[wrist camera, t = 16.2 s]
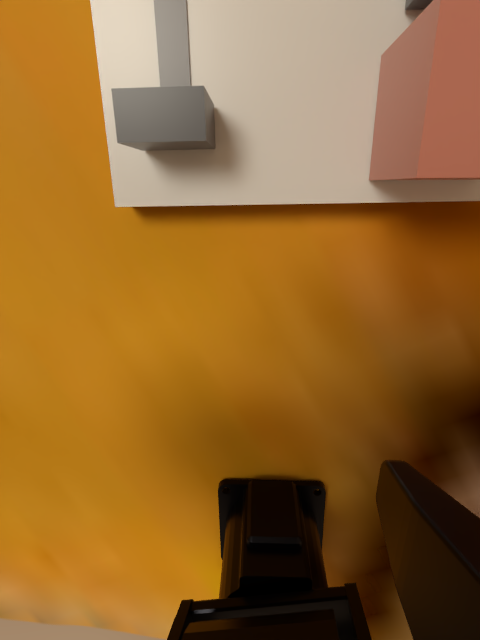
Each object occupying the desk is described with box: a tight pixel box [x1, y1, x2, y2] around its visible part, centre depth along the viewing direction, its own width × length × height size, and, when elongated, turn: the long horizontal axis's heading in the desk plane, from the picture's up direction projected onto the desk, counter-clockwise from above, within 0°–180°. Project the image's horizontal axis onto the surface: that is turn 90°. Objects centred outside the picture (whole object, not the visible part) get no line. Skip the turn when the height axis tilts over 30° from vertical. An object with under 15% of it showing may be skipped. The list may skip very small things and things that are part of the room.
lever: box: [111, 86, 216, 151], centre depth 14 cm, size 2×3×3 cm, turn 91°
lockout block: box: [369, 0, 480, 180], centre depth 13 cm, size 4×4×5 cm
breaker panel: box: [90, 0, 480, 207], centre depth 15 cm, size 11×16×3 cm
